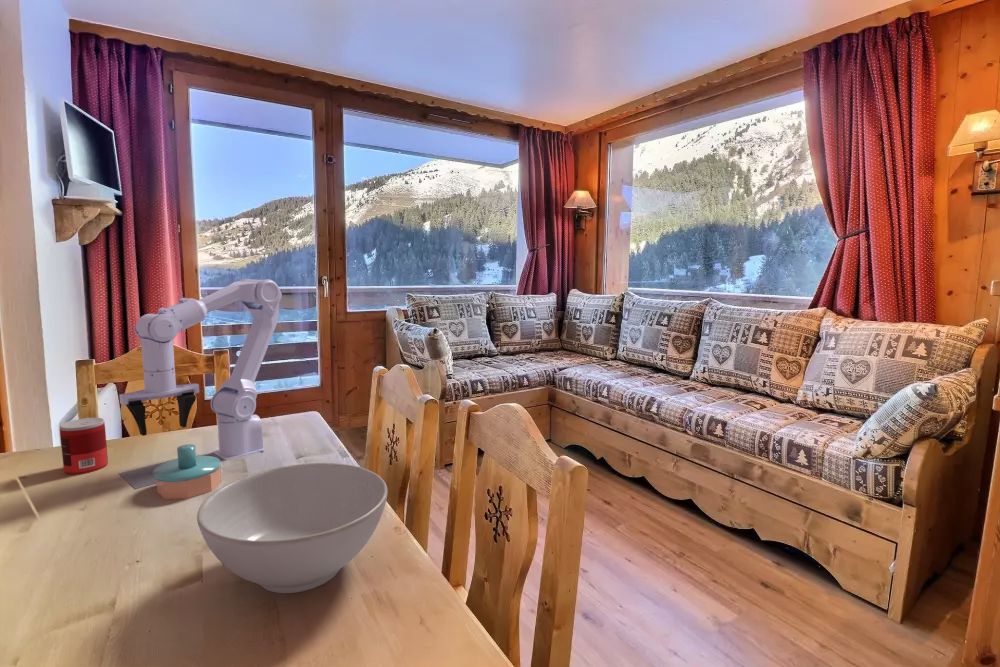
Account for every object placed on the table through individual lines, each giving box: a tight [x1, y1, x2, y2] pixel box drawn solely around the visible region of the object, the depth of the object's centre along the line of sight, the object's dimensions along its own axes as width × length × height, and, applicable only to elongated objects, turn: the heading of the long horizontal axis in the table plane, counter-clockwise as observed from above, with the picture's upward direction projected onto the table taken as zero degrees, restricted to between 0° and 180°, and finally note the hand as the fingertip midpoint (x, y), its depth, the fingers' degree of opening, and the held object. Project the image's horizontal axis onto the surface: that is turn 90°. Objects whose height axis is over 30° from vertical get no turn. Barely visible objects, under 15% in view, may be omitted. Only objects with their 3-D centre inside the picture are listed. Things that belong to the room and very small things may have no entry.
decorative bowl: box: [196, 462, 389, 594], centre depth 80 cm, size 27×27×12 cm
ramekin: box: [156, 465, 222, 500], centre depth 109 cm, size 11×11×4 cm
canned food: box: [59, 417, 109, 476], centre depth 117 cm, size 8×8×11 cm
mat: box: [118, 460, 172, 490], centre depth 116 cm, size 12×12×1 cm
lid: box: [153, 443, 221, 482], centre depth 108 cm, size 12×12×5 cm
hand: (163, 430), depth 114 cm, fingers open, 7 cm apart
